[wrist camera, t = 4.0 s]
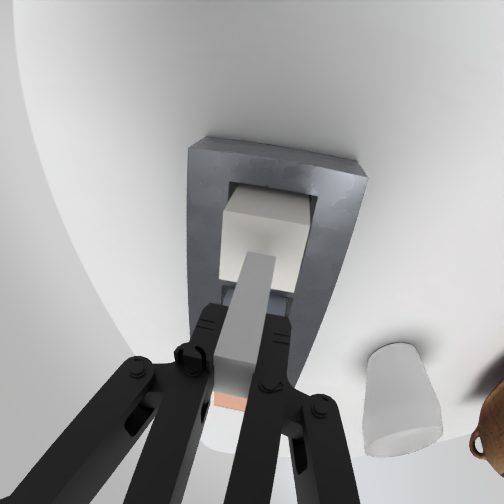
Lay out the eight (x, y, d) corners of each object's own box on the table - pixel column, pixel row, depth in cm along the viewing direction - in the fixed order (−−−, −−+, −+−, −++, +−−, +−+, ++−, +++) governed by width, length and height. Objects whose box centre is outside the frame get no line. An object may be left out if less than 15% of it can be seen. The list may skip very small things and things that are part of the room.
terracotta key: (225, 345, 31) (214, 383, 27) (271, 354, 30) (265, 393, 26) (223, 370, 34) (213, 405, 29) (264, 378, 33) (258, 414, 29)
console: (205, 136, 22) (188, 148, 19) (357, 161, 21) (368, 177, 18) (201, 358, 37) (193, 382, 34) (290, 375, 37) (288, 400, 33)
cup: (349, 377, 35) (352, 459, 25) (370, 333, 31) (381, 429, 21) (409, 378, 34) (420, 453, 24) (436, 335, 30) (460, 421, 20)
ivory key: (240, 182, 21) (223, 210, 17) (308, 193, 21) (310, 225, 17) (234, 240, 24) (219, 278, 20) (296, 252, 23) (293, 292, 19)
